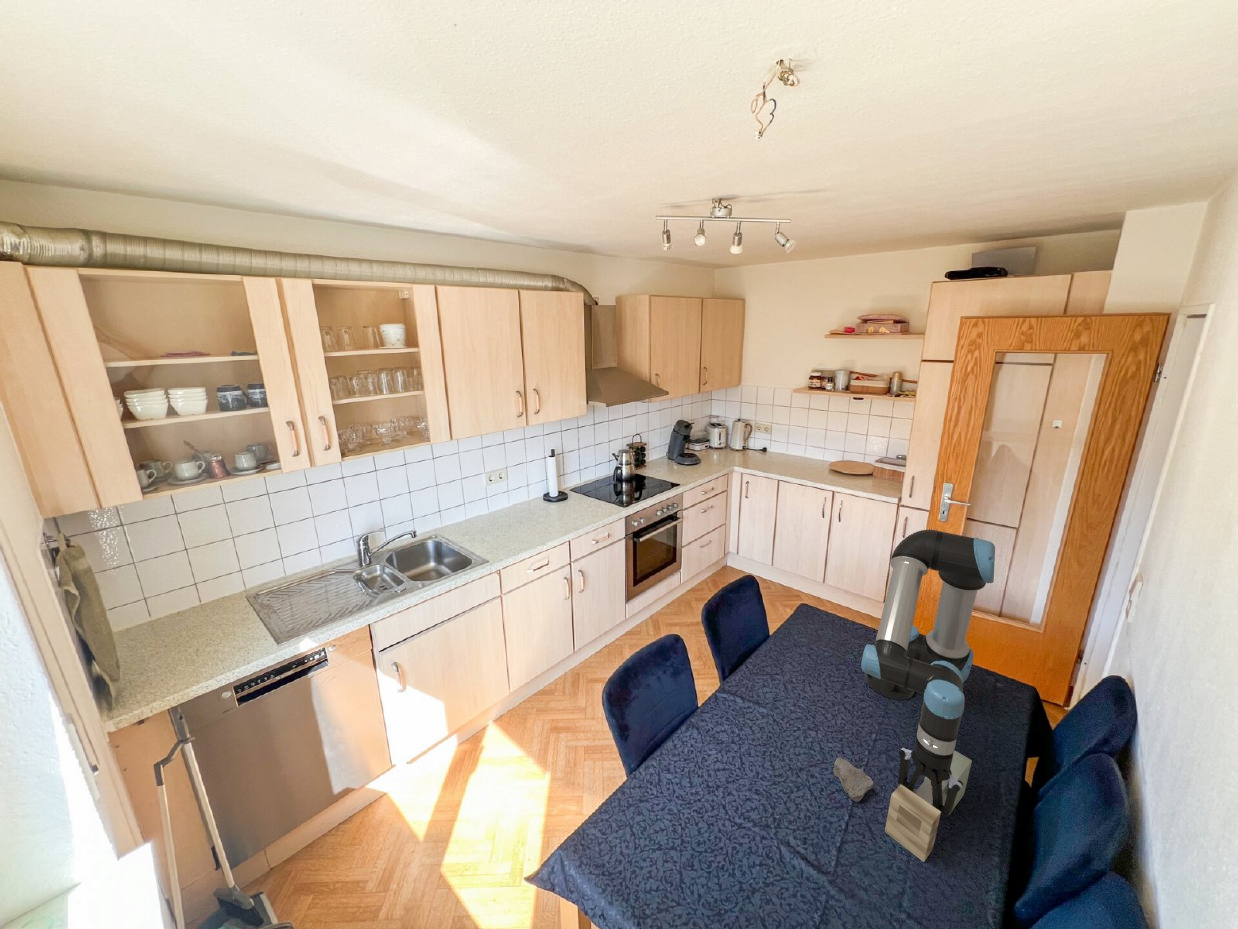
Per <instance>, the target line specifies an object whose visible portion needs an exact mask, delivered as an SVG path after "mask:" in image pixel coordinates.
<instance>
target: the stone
mask: <svg viewBox="0 0 1238 929" xmlns="http://www.w3.org/2000/svg"><path fill="white" fill-rule="evenodd" d="M833 766H834V767H833V770H832V771H833V775H834V776H835V777H836V778H838V780H839V781H840V783H841V786H842V788H843V790H844V792H845V793H846V794H847V795H848V796H849V798H850V799H851V800H853V802H856V803H858V802H860V801H861V800H863V798H864V796H865V794H866V793H867V792H868V791H870V790H871V789H873V786H874V780H872V777H870V776H869V775H867V774H866V772H864V770H863V769H860V768H857V767H855V766H854V765H853V764H852V763H851V762H849V761H848V760H846V759H843V758H842V757H840V756H838V757H837V758H836V760H834V763H833Z"/></svg>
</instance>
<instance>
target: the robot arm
mask: <svg viewBox="0 0 1238 929" xmlns="http://www.w3.org/2000/svg"><path fill="white" fill-rule="evenodd" d="M995 558H996V546H995V544H994V543H993V542H992V541H989V540H986V539H982V538H979V537H970V536H965V535H960V534H955V533H950V532H945V531H941V530H936V529H922V530H918V531H915V532H913V533H911V534H909V535H907V536H906V537H904V538H903V539H902V540H901V541H900V542H899V544H898V545H897V546H896V547H895V548H894V550H893V552H892V554H891V558H890V563H889V564H890V567H891V568H892V570H891V575H890V579H889V584H888V586H887V587H888V588H887V592H886V596H885V600H884V604H883V608H882V613H881V617H880V621H879V624H878V625H879V626H878V630H877V634H876V637H875V642H874V644H866V645H865V647H864V649H863V653H862V657H861V665H860V666H861V671H862V672H863V673H865V683H866V684H867V685H868V687H869V688H871V690H873V691H874V692H876V693H877V694H879V695H880V696H882V697H886V698H887V699H892V700H896V701H898V700H899V701H903V700H905V701H906V700H909V699H911V698H912V697H913V696H914V695H915V692H916V693H918V694H922V695H923V699H922V707H921V712H920V718H919V720H918V726H917V733H916V737H915V741H914V748H913V749H912V750H909V748H908V747H907V746H905V745H904V746H903V747H902V748H901V749H900V750H899V751H898V755H899V758H900V762H899V771H898V778H897V780H898V781H897V783H898V786H899V785H900V784H901V785H903V786H904V787H906V788H907V789H909V790H910V791H912V792H913V793H915V792H916V791H917V789H915V788H916V786H917V784H918V783H919V781H920V779H921V777H922V776H924V777H925V776H926V777H927V778H928V779H930V780H931V786H932V798H933V805H932V806H933V807H935V808H936V809H938V810H939V811H941V814H940V816H941V815H942V816H943V817H945V818H948V817H949V816H950V815H951V813H952V812H953V810H952V808H953V805H954V802H955V799H956V796H957V792H958V791H959V790H960V789H961V788H962V786H963V782H962V781H960V780H958V781H957V780H956V779H955V778H954V777H953V776H952V772H951V770H950V767H951V763H952V758H953V752H954V750H955V748H956V744H957V739H958V733H959V729H960V725H961V721H962V717H963V714H964V712H965V701H966V700H965V699H966V698H965V697H966V696H965V694H964V693H963V691H964V682H966V681H967V679H968V677H969V675H970V672H971V668H972V666H973V663H974V662H973V661H974V657H975V656H974V655H975V654H974V650H973V649H971V648H970V646H969V643H968V641H967V636H968V631H969V627H970V622H971V619H972V615H973V611H974V607H975V606H974V605H975V603H976V598H977V594H978V591H980V590H982V589H984V588H985V586H986V585H987V584H992V583H994V581H995V579H994V578H995V560H996V559H995ZM929 570H932V571H936V572H937V574H938V577H939V579H940V580H941V581H942V583H941V588H940V593H939V600H938V604H937V609H936V614H935V619H934V623H933V624H934V625H933V629H932V630H929V632H927V633H926V634H923V633H921V632H919V629H918V628H917V626H915V625H913V624H914V619H915V615H916V611H917V604H918V601H919V600H918V599H919V595H920V590H921V584H922V581H923V576H925V575H927V574H928V571H929ZM955 751H956V750H955ZM911 759H912V761H913V764H914V766H915V770H914V772H913V774H912V776H911V778H910V780H909V781H908V778H909V771H910V770H909V769H910V764H911ZM944 780H948V781H949V788H950V789H949V791H948V794H947V797H946V801H945V804H944V806H943V797H942V781H944ZM951 811H952V812H951ZM950 812H951V813H950ZM949 814H950V815H949ZM948 815H949V816H948Z"/></svg>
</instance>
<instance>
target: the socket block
mask: <svg viewBox="0 0 1238 929" xmlns="http://www.w3.org/2000/svg"><path fill="white" fill-rule="evenodd" d="M887 812H888V813H887V818H886V823H885V829H884V833H886V834H887V835H888V836H889V837H891V838H892V840H893V839H894V841H896V842H897V843H898V844H900V845H901V846H902V847H903V848H904V849H906V850H907V851H909V852H910V853H912V855H914V856H915V857H916V858H918V859H919V860H920V861H921V862H922V863H924V862H925V861H926V860H927V858H928V857H929V855H930V854H931V853H932V852H933V849H934V846H935V841H936V836H937V832H938V828H939V822H940V819H941V815H942V814H941V811H939V810H938V809H936V808H935V807H933V806H932V805H931V804H929V803H928V802H926V801H925V800H923V799H922V798H920V797H919V796H917V795H916V794H915V793H913V792H912V791H910V790H909V789H907V788H906V787H904V786H903V785H901V784H900V785H899V784H898V786H897V788H895V790H894V791H893V792H892V793H891V795H890V801H889V806H888V811H887ZM940 814H941V815H940Z"/></svg>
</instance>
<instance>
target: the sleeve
mask: <svg viewBox="0 0 1238 929" xmlns="http://www.w3.org/2000/svg"><path fill="white" fill-rule="evenodd" d="M972 761H973V760H972V759H970V758H968V757H967V756H965V755H963V754H961V753H960V752H958V751H956V750H954V752H953V758H952V763H951V767H950V770H951V772H952V776H953V777H954V778H955V779H956V780H957V781H958V780H960V781H962V782H963V786H962V788H961V789H960V790H959V791H958V792H957V796H956V799H955V802H954V805H953V808H952V811H951V812H950V814H949V815H948V817H949V816H950V815H951V814H952V812H953V810H954V809H955V807H956V806H957V805H958V804H959V802H960V801H961V799H962V798H963V797H964V795H965V792H966V788H967V783H968V779H969V774H970V772H971V767H972V763H973V762H972ZM926 779H927V777H926V776H924V780H923V782H924V781H925V780H926ZM947 794H948V792H947V793H946V795H945V796H944V797H943V806H944V804H945V801H946V797H947Z"/></svg>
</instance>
